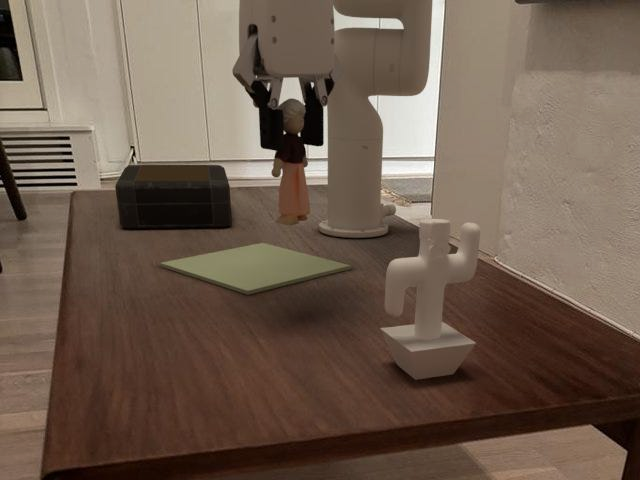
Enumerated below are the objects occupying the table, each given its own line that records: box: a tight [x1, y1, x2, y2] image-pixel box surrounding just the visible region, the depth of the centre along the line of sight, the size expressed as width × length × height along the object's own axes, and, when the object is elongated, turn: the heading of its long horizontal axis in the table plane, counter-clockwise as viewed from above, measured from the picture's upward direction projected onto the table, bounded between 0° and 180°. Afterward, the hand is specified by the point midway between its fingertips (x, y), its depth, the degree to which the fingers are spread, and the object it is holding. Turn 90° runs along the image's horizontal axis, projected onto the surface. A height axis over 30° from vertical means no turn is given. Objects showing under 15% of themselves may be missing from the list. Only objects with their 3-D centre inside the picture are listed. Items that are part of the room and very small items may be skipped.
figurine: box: [379, 218, 481, 381], centre depth 73 cm, size 7×9×15 cm
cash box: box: [114, 164, 233, 230], centre depth 141 cm, size 25×20×8 cm
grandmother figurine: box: [270, 98, 311, 226], centre depth 83 cm, size 8×4×13 cm, turn 169°
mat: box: [160, 242, 351, 296], centre depth 110 cm, size 20×20×1 cm
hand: (292, 145), depth 82 cm, fingers closed on grandmother figurine, 5 cm apart
